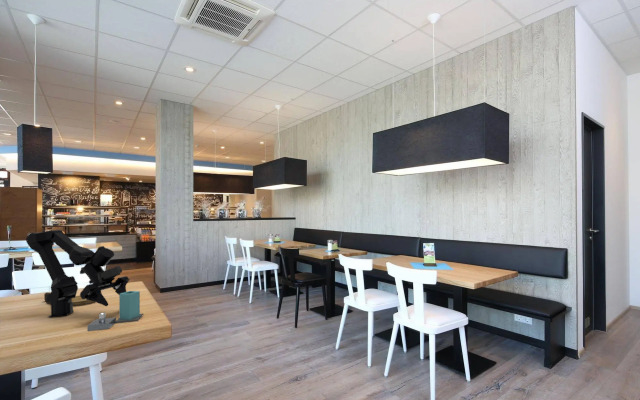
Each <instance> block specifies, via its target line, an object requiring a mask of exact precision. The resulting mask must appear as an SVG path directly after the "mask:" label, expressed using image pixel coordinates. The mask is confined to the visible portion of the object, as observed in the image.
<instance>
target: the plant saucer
mask: <svg viewBox="0 0 640 400" xmlns="http://www.w3.org/2000/svg"><path fill="white" fill-rule="evenodd" d="M71 299H72V302H73V307H74V306H75V307H77V306H84V305H90V304H92V303H95V302H94V301H91V300H86V299H82V298H81V297H80V295H76V296H75V298H71Z"/></svg>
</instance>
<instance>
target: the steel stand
mask: <svg viewBox="0 0 640 400" xmlns="http://www.w3.org/2000/svg"><path fill="white" fill-rule="evenodd" d="M116 320H117V317H106V311H105V312H100V313H99V314H98V318H97V319H96V318H95V319H94V320H93V321H91V322H90V323H89V324H87V331H88V332H90V331H99V330H108V329H111V328H112V327H113V326H114V325H115V324H116V323H115V321H116Z"/></svg>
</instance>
